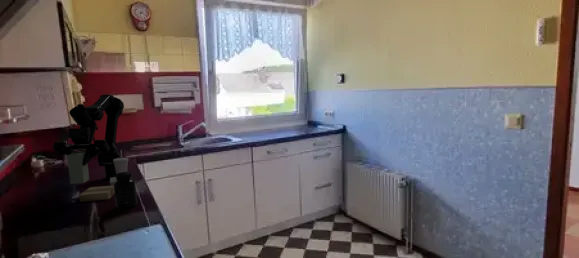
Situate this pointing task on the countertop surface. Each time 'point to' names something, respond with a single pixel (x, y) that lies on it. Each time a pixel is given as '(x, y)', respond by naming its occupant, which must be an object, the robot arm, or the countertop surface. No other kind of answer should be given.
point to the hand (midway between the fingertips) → (76, 165)
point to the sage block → (77, 168)
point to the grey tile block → (112, 181)
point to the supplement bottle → (125, 191)
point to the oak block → (97, 193)
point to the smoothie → (121, 164)
